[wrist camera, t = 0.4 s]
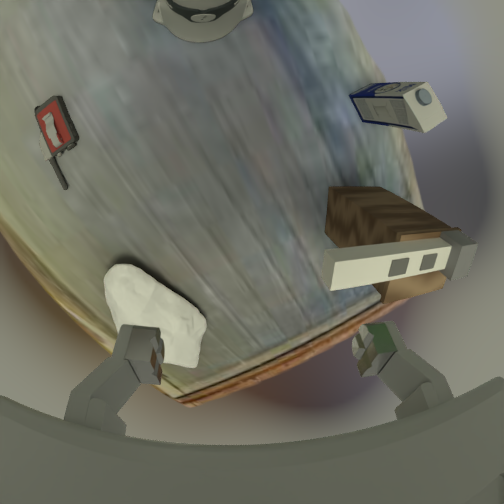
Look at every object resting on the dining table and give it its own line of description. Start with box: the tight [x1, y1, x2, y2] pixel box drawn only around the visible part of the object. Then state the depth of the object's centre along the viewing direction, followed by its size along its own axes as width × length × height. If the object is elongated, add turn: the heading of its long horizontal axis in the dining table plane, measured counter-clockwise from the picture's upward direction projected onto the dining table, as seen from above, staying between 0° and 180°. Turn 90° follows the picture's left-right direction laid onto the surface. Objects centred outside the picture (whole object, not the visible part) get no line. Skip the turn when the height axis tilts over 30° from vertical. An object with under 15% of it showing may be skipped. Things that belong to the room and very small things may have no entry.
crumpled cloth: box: [104, 264, 207, 368], centre depth 60 cm, size 24×35×9 cm
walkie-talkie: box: [35, 96, 79, 190], centre depth 39 cm, size 9×4×20 cm
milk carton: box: [349, 82, 447, 133], centre depth 40 cm, size 7×7×20 cm
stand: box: [325, 186, 461, 304], centre depth 49 cm, size 12×15×26 cm
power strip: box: [321, 230, 478, 291], centre depth 33 cm, size 6×26×5 cm, turn 91°
